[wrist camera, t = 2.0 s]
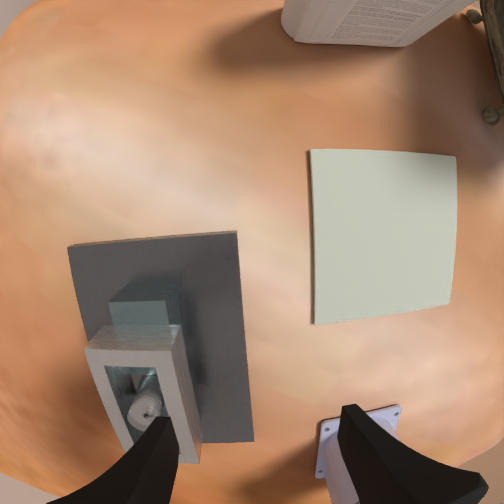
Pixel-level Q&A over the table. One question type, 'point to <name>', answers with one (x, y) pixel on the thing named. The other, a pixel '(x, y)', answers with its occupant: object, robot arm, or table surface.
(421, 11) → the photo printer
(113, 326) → the gray rectangular frame
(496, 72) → the tabletop clock
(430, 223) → the sage mat
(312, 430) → the table surface
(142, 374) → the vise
